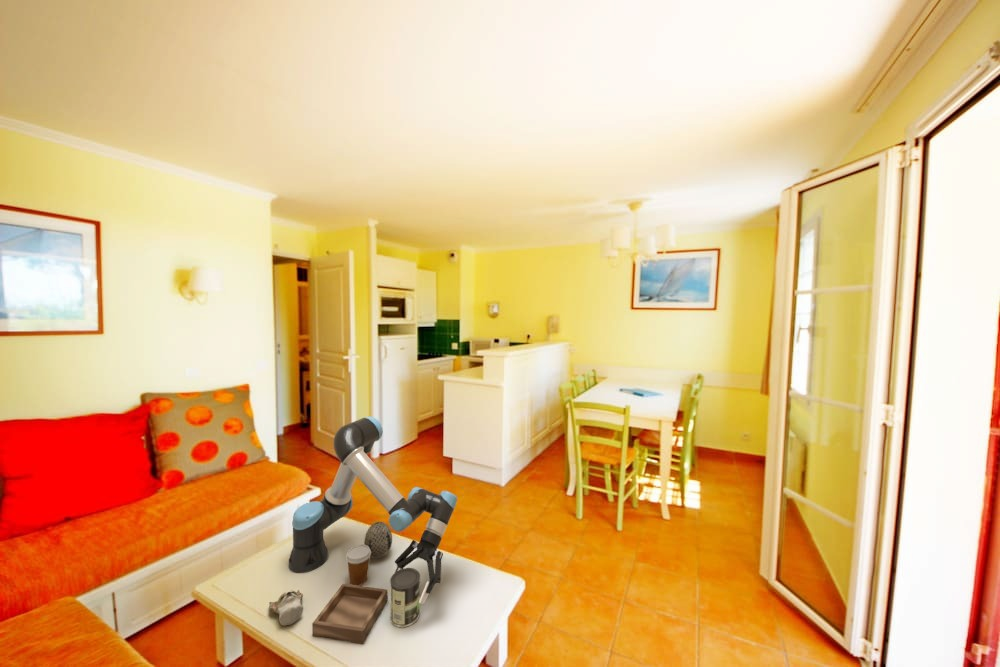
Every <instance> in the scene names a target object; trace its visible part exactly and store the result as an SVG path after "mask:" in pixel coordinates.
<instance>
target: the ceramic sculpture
mask: <svg viewBox="0 0 1000 667" xmlns="http://www.w3.org/2000/svg"><path fill="white" fill-rule="evenodd" d="M303 598H304V594H303V593H301V592H300V589H298V590H297V591H296V590H293V589H292V590H287V591H285V592H283V593H282V594H281V595H279V597H278V599H277V601H273V602H272V601H269V606H268V608H269V611H270V612H271V613H273V614H278V621H279V624H281V625H282V626H291V625H293V624H294V623H296V622H297V621H298V620H299V619H300V618H301V616H302V614H303V613H304V612H303V611H304V606H303V605H302V603H301V602H302V599H303Z"/></svg>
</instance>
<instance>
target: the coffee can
mask: <svg viewBox="0 0 1000 667" xmlns="http://www.w3.org/2000/svg"><path fill="white" fill-rule="evenodd" d="M420 580H421V574H420V572H419V571H418V570H417V569H415V568H412V567H404V568H403V569H401V570H398V571H397V572H395V571H394V573H393V574H392V575H391V577H390V579H389V583H390V586H391V588H390V623H391V624H392V625H393V626H395V627H398V628H406V627H410V626H412V625H414V624H415V623H416V622H417V621H418V619H419V617H420V614H421V613H420V612H421V611H420V603H419V600H420V598H421V594H420V589H421V588H420V584H421V582H420Z"/></svg>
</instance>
